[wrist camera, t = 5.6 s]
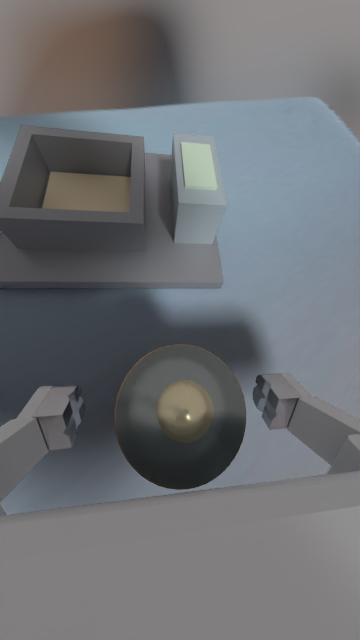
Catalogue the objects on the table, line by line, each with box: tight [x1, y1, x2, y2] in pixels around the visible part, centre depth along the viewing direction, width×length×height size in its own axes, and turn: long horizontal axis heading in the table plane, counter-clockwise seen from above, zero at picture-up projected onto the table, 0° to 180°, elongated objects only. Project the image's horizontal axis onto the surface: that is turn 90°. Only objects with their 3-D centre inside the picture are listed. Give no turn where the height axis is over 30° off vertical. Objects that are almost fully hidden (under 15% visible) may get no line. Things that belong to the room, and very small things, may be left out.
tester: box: [0, 125, 227, 288], centre depth 17 cm, size 18×16×5 cm
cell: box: [115, 344, 246, 490], centre depth 10 cm, size 4×4×9 cm
